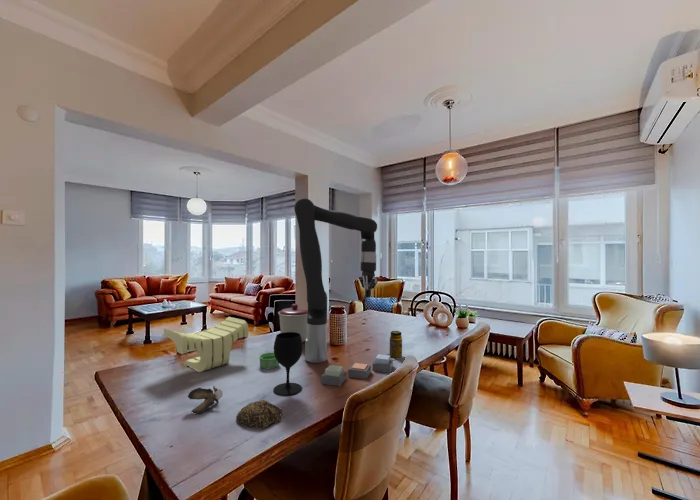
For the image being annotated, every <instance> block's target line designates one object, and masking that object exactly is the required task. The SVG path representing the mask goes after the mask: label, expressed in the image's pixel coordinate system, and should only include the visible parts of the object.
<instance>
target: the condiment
mask: <svg viewBox="0 0 700 500" xmlns="http://www.w3.org/2000/svg"><path fill="white" fill-rule="evenodd" d="M386 355H390V359H393V361H396V360H401V359H405V358H404V357H405V356H404V355H403V337H402V332H401V331H400V330H392V331H390V337H389V353H388V354H386Z"/></svg>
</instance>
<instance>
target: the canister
mask: <svg viewBox="0 0 700 500" xmlns="http://www.w3.org/2000/svg"><path fill="white" fill-rule="evenodd" d="M277 313H278V316H279V327H280V333H284V332H296V333H299V334H300V335H301V339H302V343H305V340H306V339H307V313H308V308H303V307H299V305H298V304H297V303H292V304H291V307H287V308H282V309H281V310H280V311H278V312H277Z"/></svg>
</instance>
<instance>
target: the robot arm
mask: <svg viewBox="0 0 700 500" xmlns="http://www.w3.org/2000/svg"><path fill="white" fill-rule="evenodd" d="M293 208H294V213H295V217H296V220H297V224H298V230H299V231H298V233H299V249H300V251H299V252H300V258H301V264H302V270H303V273H304V278H305V283H306V303H307V309H308V313H307V338H306V340H305V341H304V361H305V362H308V363H313V364H319V363H324V362H326V361H327V357H328V356H327V339H328V338H327V336H328V335H327V334H328V332H327V331H328V330H327V329H328V328H327V327H328V326H327V325H328V294H327V292H326V291H325V287H324V284H323V283H324V282H323V265H322V264H323V263H322V261H323V259H322V254H321V253H322V252H321V246H320V241H319V237H318V233H317V229H316V223H315V221H317V222H321V223H322V222H323V223H325V224H326V223H327V224H330V225H333V226H336V227H340V228H343V229H348V230H351V231H352V230H353V231H358V232H360V237H361V238H360V240H361V246H360V248H361V249H360V251H361V252H360V271H361V272H362V273H361V276H359V277H358V280H359V282H360V285H361V287H362V288H363V289H364V298H366V299H367V298H369V299H370V298H371V297H372V290H373V289H375V287H376V285H377V284H378V282H379V279H378V278H377V277H375V276H376V274H375V272H376V271H377V252H376V251H377V245H376V244H377V243H376V239H375V232H377V230H378V223H377V222H376V221H375V220H374V219H372V218H369V217H364V216H363V217H362V216H357V215H354V214H351V213H347V212H343V211H337V210H332V209H326V208H322V207H319V206H317V205H315V204H314V203H313V201H312V200H311V199H309V198H305V197H302V198H299V199H297V200H296V203H295V204H294V207H293Z"/></svg>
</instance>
